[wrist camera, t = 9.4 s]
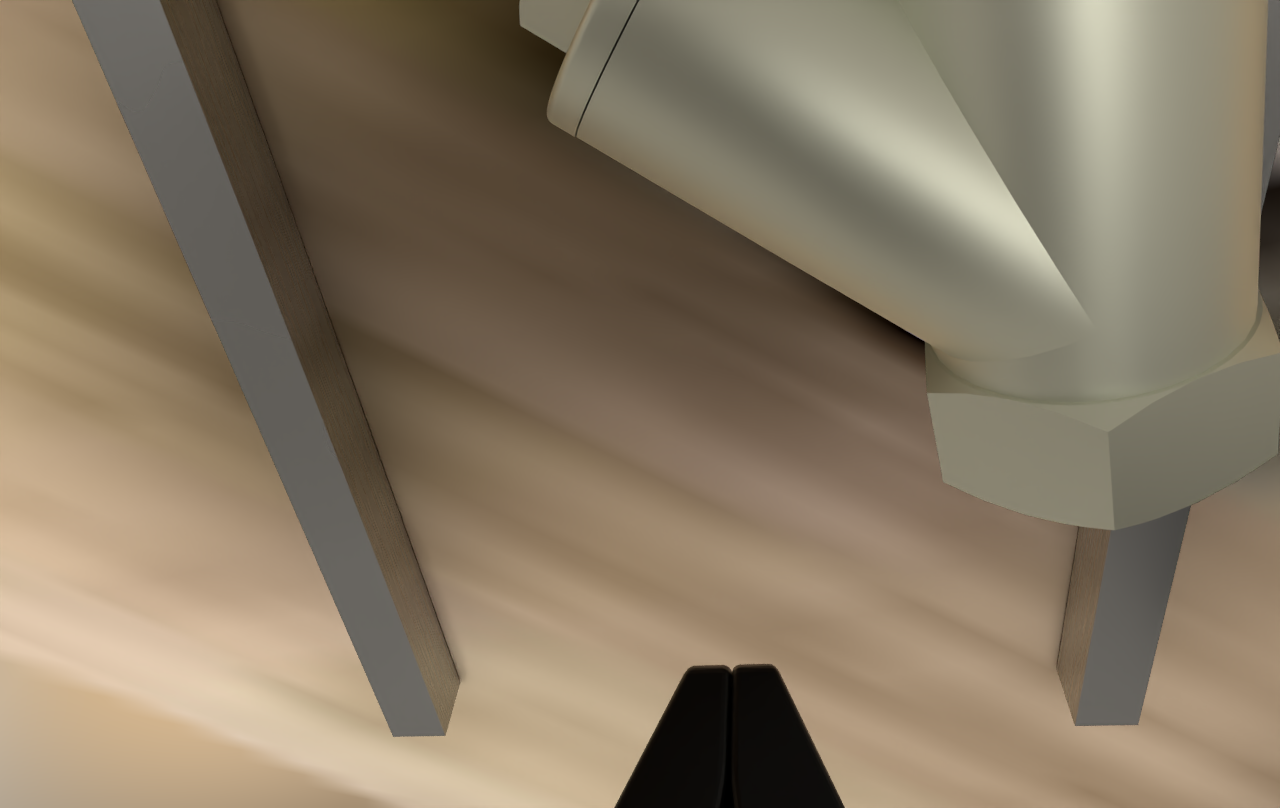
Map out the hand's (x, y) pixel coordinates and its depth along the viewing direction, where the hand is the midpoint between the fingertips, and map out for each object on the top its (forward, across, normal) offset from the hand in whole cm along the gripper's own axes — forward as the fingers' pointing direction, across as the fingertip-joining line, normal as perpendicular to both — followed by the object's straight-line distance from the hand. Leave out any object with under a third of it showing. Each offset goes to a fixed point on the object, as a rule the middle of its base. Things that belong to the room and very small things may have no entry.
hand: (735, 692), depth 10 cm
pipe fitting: (+4, +2, -3) cm, 6 cm away
